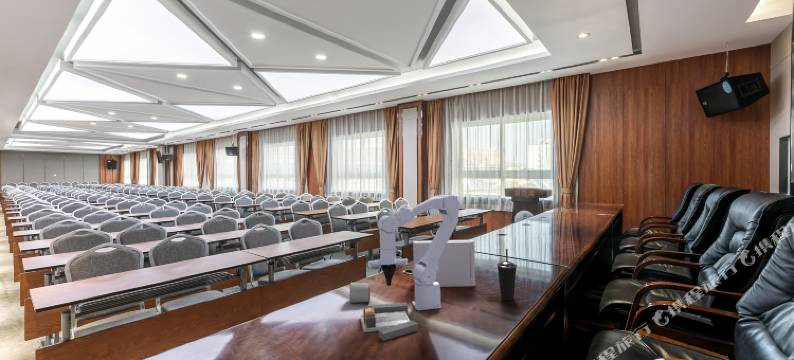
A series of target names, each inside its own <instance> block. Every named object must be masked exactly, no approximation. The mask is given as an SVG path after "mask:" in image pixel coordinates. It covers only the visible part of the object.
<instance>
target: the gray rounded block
mask: <svg viewBox="0 0 794 360" xmlns="http://www.w3.org/2000/svg"><path fill="white" fill-rule="evenodd" d="M370 301H371V284H370V283H366V282H361V283H360V282H350V285H349V303H350V304H351V303H353V304H354V303H369V302H370Z"/></svg>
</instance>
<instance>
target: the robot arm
mask: <svg viewBox="0 0 794 360" xmlns="http://www.w3.org/2000/svg"><path fill="white" fill-rule="evenodd" d="M459 201H460V200H459V198H457V196H455V195H453V194H452V195H448V194H445V193H444V194H443V193H440V194H438V195H433V196H431V198H428V199H426V200H424V201H423V202H420V203H418V204H416V205H414V206H413V207H411V208H410V207H409V206H401V207H399V210H395V211H394V212H389V214H388V215H386V214H385V215H383V216H380V218H379V219H378V222H377V228H378V229H379V247H380V248H379V249H380V250H379V251H380V252H379V253H380V254H379V255H380V256H379V257H380V259H375V260H374V259H373V260H368V263H367V265H368V268H369V269H370V268H372V267H373V268H375V267H380V268H381V270H382V272H383V276H384V278H385V279H384V280H385V283H386V286H387V287H391V286H392V280H393V277H394V275H395V272H396V271H397V266H400V265H406V266H407V265H409V259H408V258H407V257H406V258H397V252H396V251H397V248H396V247H397V246H396V245H397V244H396V230H397V229H398V228H400V227H402V226H404V225H406V224H409V223H411V222H413V221H414V218H415V217H416V216H418V215H421V214H423V213H426V212H428V211H430V210H437V211H438V212H439V213H440V216H441V218H442V222H441V223H440V226H439V227H438V229H437V230H436V233H435V235H434V237H433V239H432V240H433V241H432V243H431V244H430V246H429V248H428V250H427V252H426V254H425V256H424V257H422V258H420V260H419V261H418V263H417V264H415V265H414V264H413V266H412V269H411V274H412V276H413V278H414V277H415V282H414V301H412V305H413V307H414V309H415V310H416V311H424V310H425V311H426V310H433V309H434V310H436V309H441V308H442V306H441V287H440V286H439V283H438V282H434V281H435V279H436V273H437V270H438V265H437V262H438V260H439V258H440V256H441V254H442V252H443V250H444V248H445V246H446V244H447V242H448V240H450V238H451V236H452V234H453V233H454V230H455V228H456V227H457V225H458V222H459V210H460V208H461V204H460V202H459Z"/></svg>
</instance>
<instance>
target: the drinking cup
mask: <svg viewBox="0 0 794 360" xmlns="http://www.w3.org/2000/svg"><path fill="white" fill-rule="evenodd" d="M508 253H509V252H508V248H505V261H500V262H498V263H497V264H496V267H497V272H498V273H497V274H498V281H499V290H500V299H501V300H502V301H506V302H510V301H511V302H512V301H514V300H515V289H516V275H517V267H518V265H517V264H516V263H514V262H512V261H509V256H508V255H509V254H508Z"/></svg>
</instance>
